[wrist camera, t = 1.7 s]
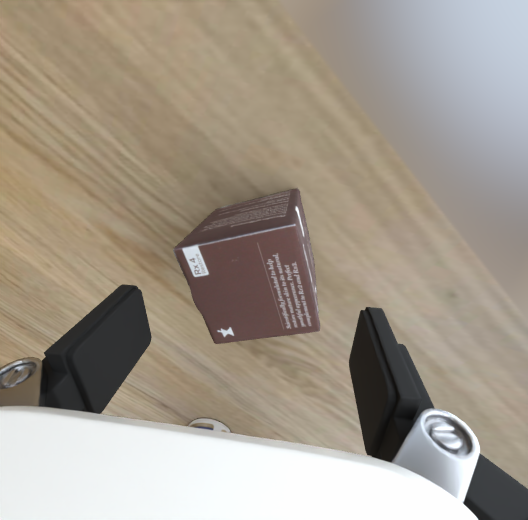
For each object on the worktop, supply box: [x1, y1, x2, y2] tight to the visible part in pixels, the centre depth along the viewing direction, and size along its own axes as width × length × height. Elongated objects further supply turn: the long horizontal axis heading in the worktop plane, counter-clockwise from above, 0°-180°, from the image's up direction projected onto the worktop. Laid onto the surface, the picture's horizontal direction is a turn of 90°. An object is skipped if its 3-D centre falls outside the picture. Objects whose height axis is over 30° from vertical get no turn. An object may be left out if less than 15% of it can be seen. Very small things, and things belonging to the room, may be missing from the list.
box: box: [173, 189, 320, 344], centre depth 16 cm, size 6×6×7 cm
